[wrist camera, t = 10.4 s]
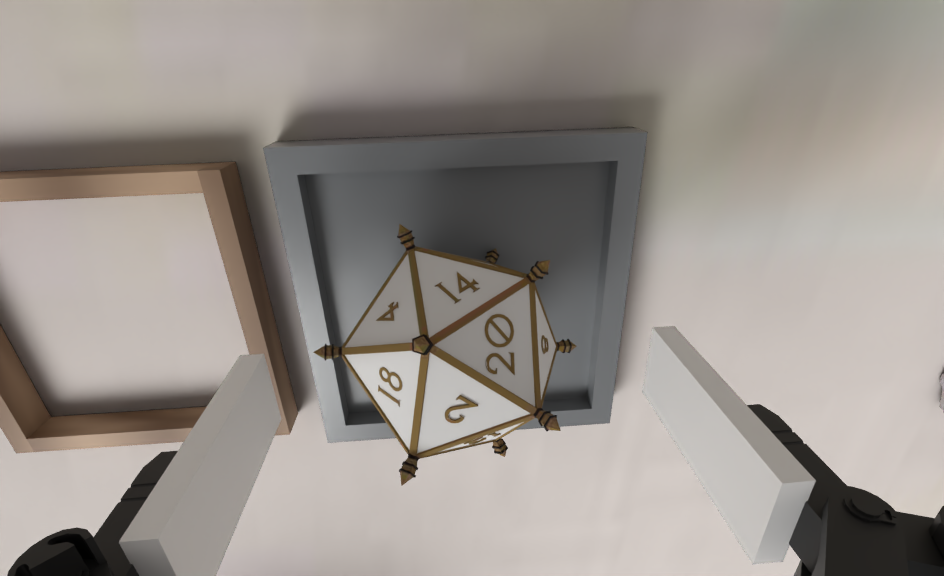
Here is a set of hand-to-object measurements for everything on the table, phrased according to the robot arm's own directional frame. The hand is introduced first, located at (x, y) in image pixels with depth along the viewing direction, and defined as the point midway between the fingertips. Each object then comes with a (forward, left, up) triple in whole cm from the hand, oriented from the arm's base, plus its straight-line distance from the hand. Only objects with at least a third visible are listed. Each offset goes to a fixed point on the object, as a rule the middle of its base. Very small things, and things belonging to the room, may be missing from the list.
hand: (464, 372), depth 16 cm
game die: (0, 0, -6) cm, 6 cm away
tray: (0, 0, -6) cm, 6 cm away
